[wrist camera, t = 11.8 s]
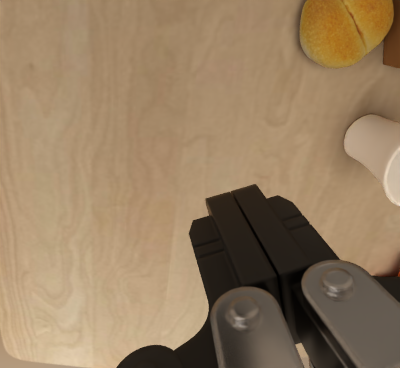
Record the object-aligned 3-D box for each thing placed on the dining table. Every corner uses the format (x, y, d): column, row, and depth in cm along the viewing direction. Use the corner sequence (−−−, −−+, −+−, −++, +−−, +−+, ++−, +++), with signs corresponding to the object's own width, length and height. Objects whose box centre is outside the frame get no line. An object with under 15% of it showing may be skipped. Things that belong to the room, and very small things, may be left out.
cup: (360, 182, 45) (417, 226, 36) (316, 141, 41) (368, 179, 32) (415, 128, 43) (489, 161, 34) (374, 79, 39) (446, 103, 30)
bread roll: (281, 15, 34) (299, 17, 31) (361, -49, 33) (389, -54, 29) (317, 84, 38) (337, 93, 34) (390, 29, 37) (418, 32, 33)
